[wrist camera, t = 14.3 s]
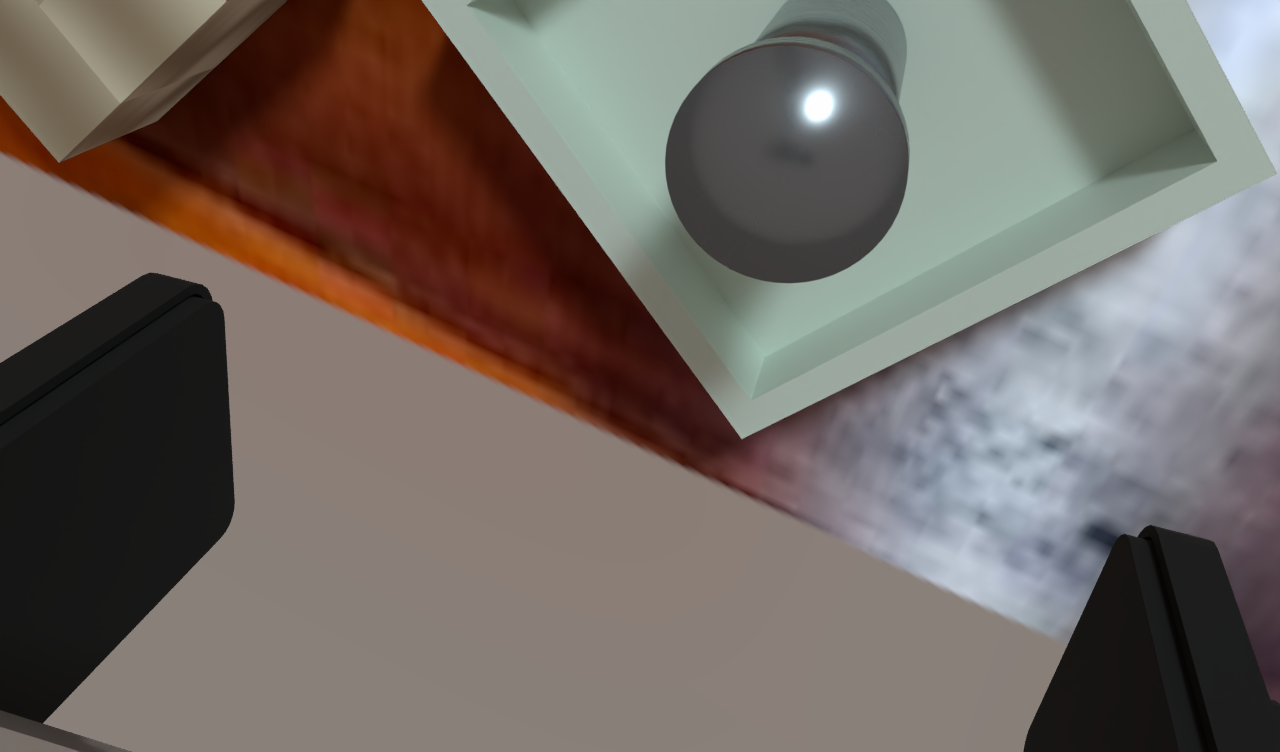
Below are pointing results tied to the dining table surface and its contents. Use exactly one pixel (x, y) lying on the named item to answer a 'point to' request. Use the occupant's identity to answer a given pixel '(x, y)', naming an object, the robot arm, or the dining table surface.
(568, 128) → the tray
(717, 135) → the steel pin
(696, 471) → the dining table surface
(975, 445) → the dining table surface
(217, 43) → the pin block
